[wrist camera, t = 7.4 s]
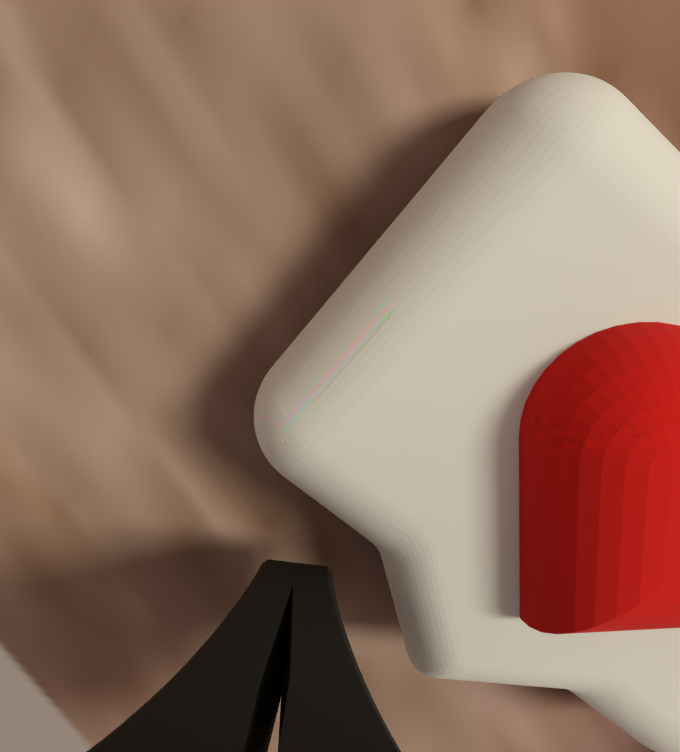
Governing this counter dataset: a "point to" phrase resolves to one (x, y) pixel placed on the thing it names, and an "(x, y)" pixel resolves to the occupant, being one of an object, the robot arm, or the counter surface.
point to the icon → (514, 406)
